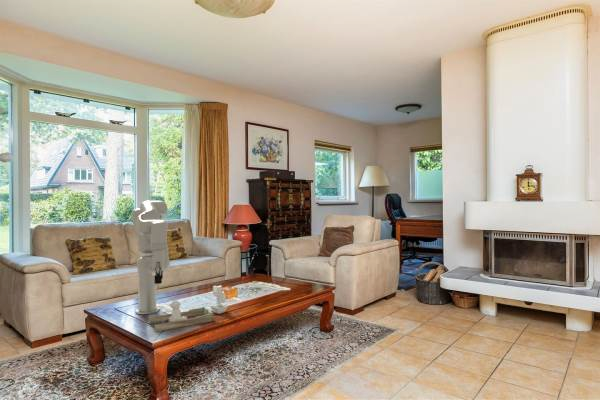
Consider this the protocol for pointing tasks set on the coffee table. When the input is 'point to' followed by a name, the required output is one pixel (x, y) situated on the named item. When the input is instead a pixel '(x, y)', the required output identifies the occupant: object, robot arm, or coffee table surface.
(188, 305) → the coffee table surface
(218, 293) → the figurine
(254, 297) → the coffee table surface
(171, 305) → the sitting furry creature
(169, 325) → the lane
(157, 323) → the mats
